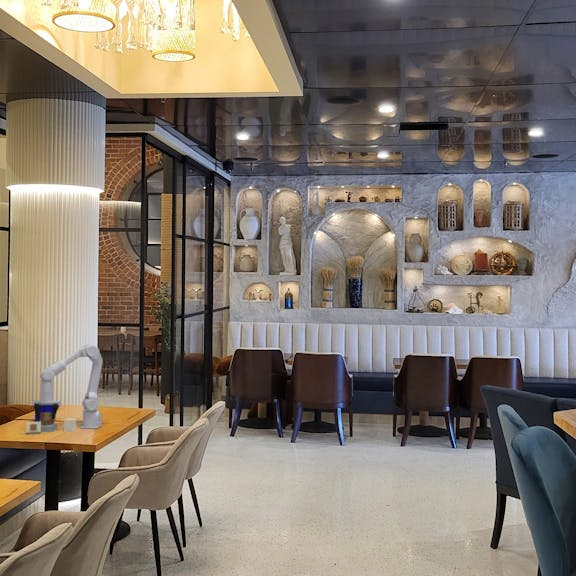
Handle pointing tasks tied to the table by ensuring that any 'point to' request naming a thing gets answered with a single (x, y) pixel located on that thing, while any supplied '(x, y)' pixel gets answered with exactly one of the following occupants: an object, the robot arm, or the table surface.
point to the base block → (49, 428)
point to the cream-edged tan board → (33, 427)
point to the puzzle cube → (44, 409)
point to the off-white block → (70, 424)
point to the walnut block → (46, 418)
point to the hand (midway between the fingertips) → (46, 418)
